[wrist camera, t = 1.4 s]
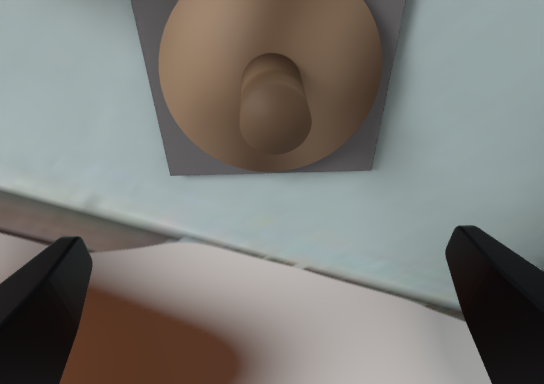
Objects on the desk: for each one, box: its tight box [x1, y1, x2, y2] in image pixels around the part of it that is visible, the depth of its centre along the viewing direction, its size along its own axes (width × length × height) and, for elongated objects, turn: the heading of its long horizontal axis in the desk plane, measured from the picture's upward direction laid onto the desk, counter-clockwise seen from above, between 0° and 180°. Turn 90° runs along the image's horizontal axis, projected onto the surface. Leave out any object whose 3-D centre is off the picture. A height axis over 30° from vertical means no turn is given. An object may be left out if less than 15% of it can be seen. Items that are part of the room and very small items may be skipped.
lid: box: [159, 0, 382, 172], centre depth 16 cm, size 10×10×5 cm
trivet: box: [131, 0, 406, 176], centre depth 18 cm, size 12×12×1 cm
